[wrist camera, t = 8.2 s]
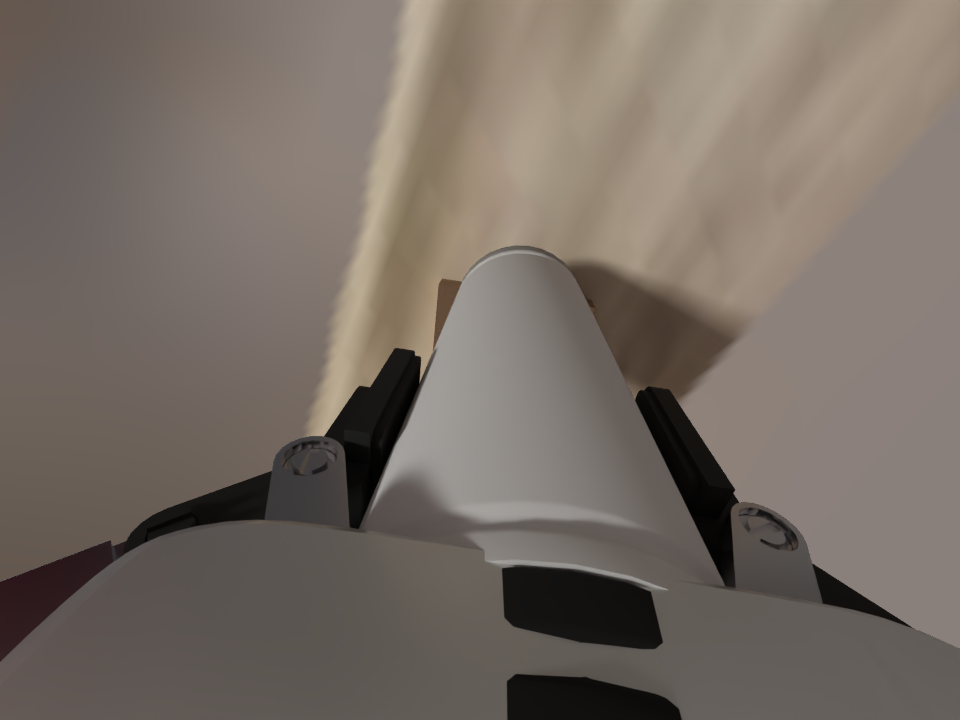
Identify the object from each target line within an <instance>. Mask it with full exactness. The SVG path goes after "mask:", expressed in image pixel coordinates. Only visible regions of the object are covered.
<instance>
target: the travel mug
mask: <svg viewBox="0 0 960 720" xmlns="http://www.w3.org/2000/svg"><path fill="white" fill-rule="evenodd" d="M359 529H361V530H368V531H375V532H382V533H389V534H396V535H402V536H409V537H415V538H422V539H427V540H433V541H438V542H444V543H449V544H453V545H458V546H463V547H468V548H473V549H478V550H484V551H485V561H487V562H494V563H501V564H507V565H514V566H520V567H507V568H502V582H503V603H504V618H505V619H506V620H507V621H508V622H509V623H510V624H511V625H512V626H513V627H516V628H520V629H525V630H529V631H534V632H538V633H542V634H547V635H551V636H556V637H560V638H564V639H569V640H573V641H577V642H580V643H592V644H601V645H610V646H619V647H627V648H636V649H656V648H657V647H658V646H660V645H661V644H662V643H663V640H662V635H661V631H660V627H659V623H658V619H657V614H656V610H655V606H654V602H653V598H652V594H651V591H648V590H645V589H643V588H640V587H637V586H635V585H641V586H647V587H653V588H659V589H666V590H669V588H668V584H667V581H666V580H675V581H690V582H699V583H708V584H714V585H720V586H725V585H724V583H723V580H722V578H721V576H720V574H719V572H718V570H717V568H716V566H715V564H714V562H713V560H712V558H711V556H710V554H709V552H708V550H707V548H706V546H705V543H704V541H703V539H702V537H701V535H700V533H699V531H698V529H697V527H696V525H695V523H694V521H693V519H692V517H691V515H690V513H689V511H688V509H687V506H686V504H685V502H684V500H683V498H682V496H681V494H680V492H679V490H678V488H677V486H676V484H675V482H674V480H673V478H672V476H671V474H670V472H669V469H668V467H667V465H666V463H665V461H664V459H663V457H662V455H661V453H660V451H659V449H658V447H657V445H656V443H655V441H654V439H653V437H652V434H651V432H650V430H649V428H648V426H647V424H646V422H645V420H644V418H643V416H642V414H641V412H640V410H639V408H638V406H637V404H636V402H635V400H634V397H633V395H632V393H631V391H630V389H629V387H628V385H627V383H626V381H625V379H624V377H623V375H622V373H621V371H620V369H619V367H618V365H617V363H616V360H615V358H614V356H613V354H612V352H611V350H610V348H609V346H608V344H607V342H606V340H605V338H604V336H603V334H602V332H601V330H600V328H599V325H598V323H597V321H596V319H595V317H594V315H593V313H592V311H591V309H590V307H589V305H588V303H587V301H586V299H585V297H584V295H583V293H582V291H581V288H580V286H579V284H578V282H577V280H576V279H575V277H574V275H573V273H572V271H571V270H570V269H569V268H568V267H567V266H566V265H565V263H564V262H563V261H561V260H560V259H559V258H557V257H556V256H555V255H553V254H551V253H549V252H547V251H545V250H543V249H539V248H535V247H531V246H510V247H505V248H501V249H498V250H496V251H493V252H491V253H489V254H487V255H486V256H484V257H483V258H481V259H480V260H479V261H478V262H476V263H475V264H474V265H473V266H472V267H471V268H470V270H469V271H468V273H467V274H466V276H465V277H464V279H463V281H462V284H461V286H460V288H459V291H458V293H457V296H456V298H455V300H454V303H453V305H452V307H451V310H450V312H449V315H448V317H447V319H446V322H445V324H444V327H443V329H442V331H441V334H440V336H439V338H438V341H437V343H436V346H435V348H434V350H433V353H432V355H431V358H430V360H429V362H428V365H427V367H426V370H425V372H424V374H423V377H422V379H421V381H420V384H419V386H418V389H417V391H416V393H415V396H414V398H413V401H412V403H411V405H410V408H409V410H408V412H407V415H406V417H405V420H404V422H403V424H402V427H401V429H400V432H399V434H398V436H397V439H396V441H395V444H394V446H393V448H392V451H391V453H390V455H389V458H388V460H387V463H386V465H385V467H384V470H383V472H382V475H381V477H380V479H379V482H378V484H377V487H376V489H375V491H374V494H373V496H372V498H371V501H370V503H369V506H368V508H367V510H366V513H365V515H364V518H363V520H362V522H361V525H360V527H359ZM632 584H634V585H632ZM507 720H682V718H681V714H680V710H679V708H678V707H676V706H675V705H674V704H673V703H672V702H671V701H669V700H668V699H667V698H665V697H663V696H660V695H658V694H655V693H650V692H646V691H642V690H637V689H633V688H629V687H624V686H620V685H616V684H611V683H607V682H603V681H598V680H594V679H590V678H588V677H585V676H584V677H567V676H547V675H527V674H515V675H514V676H513V677H511V678H510V679H509V680H508V681H507Z"/></svg>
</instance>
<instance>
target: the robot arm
mask: <svg viewBox="0 0 960 720" xmlns="http://www.w3.org/2000/svg"><path fill="white" fill-rule="evenodd" d="M420 366H421V357H420V356H415V352H414V351H412V350H406V349H399V348H395V349H394V350H393V352H392V354H391V355H390V357H389V358H388V360H387V362H386V363H385V365H384V366H383V368H382V370H381V371H380V373H379V374H378V376H377V377H376V379H375V381H374V382H373V384H372V385H371V387H364V386H359V387H358V388H357V389H356V390H355V392H354V393H353V395H352V396H351V398H350V399H349V401H348V402H347V404H346V405H345V407H344V408H343V409H342V411H341V412H340V414H339V415H338V417H337V418H336V420H335V421H334V423H333V424H332V426H331V427H330V428H329V430H328V431H327V433H326V434H325V436H324V437H323V436H309V437H304V438H300V439H297V440H295V441H292V442H290V443H288V444H287V445H285V446H284V447H282V448H281V449H280V450H279V452H278V453H277V454H276V456H275V458H274V461H273V467H272V471H270V472H268V473H265V474H262V475H259V476H257V477H254V478H251V479H248V480H245V481H243V482H240V483H237V484H234V485H231V486H228V487H226V488H223V489H220V490H217V491H215V492H212V493H209V494H206V495H203V496H201V497H198V498H195V499H192V500H189V501H187V502H184V503H181V504H178V505H175V506H173V507H170V508H167V509H165V510H163V511H161V512H158V513H156V514H154V515H152V516H151V517H149V518H148V519H146V520H145V521H143V522H142V523H141V524H140V525H139V526H138V527H137V528H136V529H135V530H134V531H133V532H132V533H131V534H130V536H129V537H128V539H127V541H124V542H122V543H119V544H117V545H114V546H113V544H112V541H111V540H109V541H106V542H104V543H101V544H98V545H96V546H93V547H90V548H88V549H85V550H83V551H80V552H77V553H74V554H72V555H69V556H67V557H64V558H62V559H59V560H56V561H53V562H51V563H48V564H45V565H43V566H40V567H38V568H35V569H32V570H30V571H27V572H24V573H22V574H19V575H16V576H14V577H11V578H8V579H6V580H3V581H0V720H507V681H508V680H509V679H510V678H511V677H513V676H514V675H515V674H527V675H547V676H567V677H584V676H585V677H588V678H590V679H594V680H598V681H603V682H607V683H611V684H616V685H620V686H624V687H629V688H633V689H637V690H642V691H646V692H650V693H655V694H658V695H660V696H663V697H665V698H667V699H668V700H669V701H671V702H672V703H673V704H674V705H675V706H676V707H678V708H679V710H680V714H681V718H682V720H960V648H957V647H955V646H953V645H951V644H948V643H946V642H944V641H942V640H940V639H937V638H935V637H933V636H931V635H928V634H926V633H924V632H921V631H919V630H916V629H914V628H912V627H910V626H909V625H908V624H906V623H904V622H903V621H901V620H900V619H898V618H897V617H895V616H894V615H892V614H890V613H889V612H887V611H886V610H884V609H883V608H881V607H879V606H878V605H876V604H875V603H873V602H872V601H870V600H868V599H867V598H865V597H864V596H862V595H861V594H859V593H858V592H856V591H854V590H853V589H851V588H850V587H848V586H847V585H845V584H844V583H842V582H840V581H839V580H837V579H836V578H834V577H832V576H831V575H829V574H828V573H826V572H825V571H823V570H822V569H820V568H819V567H817V566H815V565H814V564H812V561H811V558H810V554H809V550H808V547H807V544H806V541H805V539H804V537H803V536H802V534H801V533H800V532H799V531H798V530H797V528H796V527H795V526H794V525H793V524H791V523H790V522H789V521H788V520H787V519H785V518H784V517H782V516H781V515H779V514H778V513H776V512H774V511H773V510H771V509H769V508H766V507H764V506H761V505H758V504H755V503H748V502H741V503H739V502H738V500H737V498H736V497H735V495H734V494H733V493H734V491H735V489H734V487H733V486H732V484H731V483H730V481H729V480H728V478H727V476H726V475H725V473H724V472H723V470H722V469H721V467H720V466H719V464H718V463H717V461H716V460H715V458H714V457H713V455H712V454H711V452H710V451H709V449H708V448H707V446H706V445H705V443H704V442H703V440H702V438H701V437H700V435H699V434H698V432H697V431H696V429H695V428H694V427H693V425H692V423H691V422H690V420H689V419H688V417H687V416H686V415H685V413H684V411H683V410H682V408H681V407H680V405H679V404H678V402H677V401H676V399H675V397H674V396H673V394H672V393H671V391H670V390H669V389H662V388H656V387H649V386H648V387H647V388H646V389H645V390H644V391H643V390H640V391H639V392H638V394H637V397H636V399H635V402H636V404H637V406H638V408H639V410H640V412H641V414H642V416H643V418H644V420H645V422H646V424H647V426H648V428H649V430H650V432H651V434H652V437H653V439H654V441H655V443H656V445H657V447H658V449H659V451H660V453H661V455H662V457H663V459H664V461H665V463H666V465H667V467H668V469H669V472H670V474H671V476H672V478H673V480H674V482H675V484H676V486H677V488H678V490H679V492H680V494H681V496H682V498H683V500H684V502H685V504H686V506H687V509H688V511H689V513H690V515H691V517H692V519H693V521H694V523H695V525H696V527H697V529H698V531H699V533H700V535H701V537H702V539H703V541H704V543H705V546H706V548H707V550H708V552H709V554H710V556H711V558H712V560H713V562H714V564H715V566H716V568H717V570H718V572H719V574H720V576H721V578H722V580H723V583H724V585H725V586H720V585H714V584H708V583H699V582H690V581H675V580H666V581H667V584H668V588H669V590H666V589H659V588H653V587H647V586H641V585H635V586H637V587H640V588H643V589H645V590H648V591H651V594H652V598H653V602H654V606H655V610H656V614H657V619H658V623H659V627H660V631H661V635H662V640H663V643H662V644H661V645H660V646H658V647H657V648H656V649H636V648H627V647H619V646H610V645H601V644H592V643H580V642H577V641H573V640H569V639H564V638H560V637H556V636H551V635H547V634H542V633H538V632H534V631H529V630H525V629H520V628H516V627H513V626H512V625H511V624H510V623H509V622H508V621H507V620H506V619H505V618H504V603H503V582H502V568H507V567H520V566H514V565H507V564H501V563H494V562H487V561H485V551H484V550H478V549H473V548H468V547H463V546H458V545H453V544H449V543H444V542H438V541H433V540H427V539H422V538H415V537H409V536H402V535H396V534H389V533H382V532H375V531H368V530H361V529H359V527H360V525H361V522H362V520H363V518H364V515H365V513H366V510H367V508H368V506H369V503H370V501H371V498H372V496H373V494H374V491H375V489H376V487H377V484H378V482H379V479H380V477H381V475H382V472H383V470H384V467H385V465H386V463H387V460H388V458H389V455H390V453H391V451H392V448H393V446H394V444H395V441H396V439H397V436H398V434H399V432H400V429H401V427H402V424H403V422H404V420H405V417H406V415H407V412H408V410H409V408H410V405H411V403H412V401H413V398H414V396H415V393H416V391H417V389H418V386H419V381H420ZM632 585H634V584H632Z"/></svg>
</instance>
